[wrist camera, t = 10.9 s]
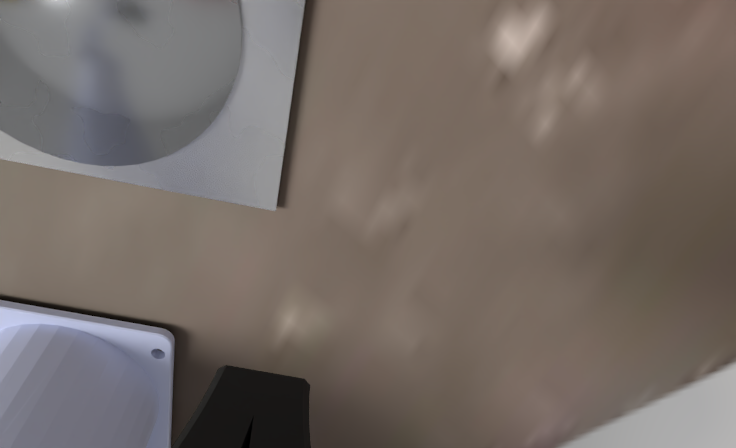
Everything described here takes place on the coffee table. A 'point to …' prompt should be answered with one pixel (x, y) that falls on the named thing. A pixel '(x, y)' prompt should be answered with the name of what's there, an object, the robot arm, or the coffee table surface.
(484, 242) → the coffee table surface
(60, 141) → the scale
